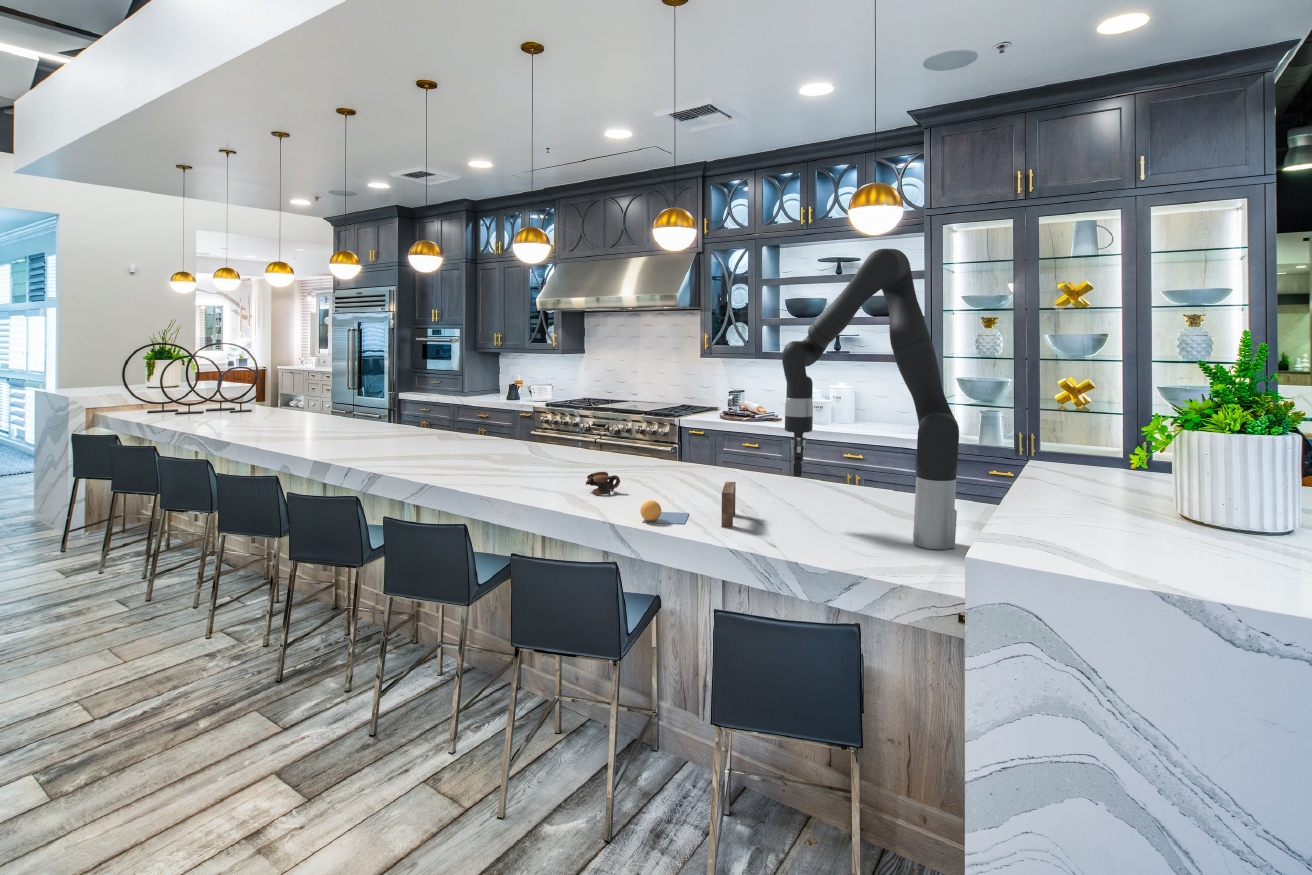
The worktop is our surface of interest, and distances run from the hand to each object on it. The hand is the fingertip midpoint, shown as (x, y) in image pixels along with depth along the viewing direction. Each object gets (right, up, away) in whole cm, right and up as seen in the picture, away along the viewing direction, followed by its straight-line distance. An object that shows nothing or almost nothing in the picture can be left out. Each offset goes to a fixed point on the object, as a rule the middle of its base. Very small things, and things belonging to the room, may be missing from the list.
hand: (797, 475), depth 191 cm
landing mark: (-36, -13, +8) cm, 39 cm away
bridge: (-19, -13, +5) cm, 23 cm away
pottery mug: (-57, -8, +42) cm, 72 cm away
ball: (-41, -10, +4) cm, 42 cm away
